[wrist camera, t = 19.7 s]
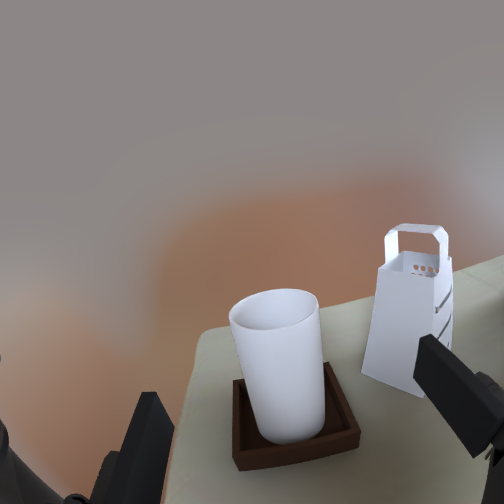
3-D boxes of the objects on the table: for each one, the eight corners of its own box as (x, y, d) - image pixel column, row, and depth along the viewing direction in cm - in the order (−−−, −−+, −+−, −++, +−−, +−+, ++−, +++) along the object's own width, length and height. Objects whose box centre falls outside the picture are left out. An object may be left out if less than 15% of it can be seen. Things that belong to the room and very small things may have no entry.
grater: (396, 337, 40) (397, 217, 35) (450, 354, 32) (465, 221, 27) (360, 372, 35) (358, 235, 30) (422, 398, 26) (444, 244, 21)
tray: (358, 447, 23) (361, 431, 22) (239, 471, 23) (232, 457, 22) (329, 378, 36) (328, 361, 35) (237, 396, 35) (232, 380, 35)
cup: (323, 394, 32) (315, 284, 28) (326, 442, 24) (322, 324, 20) (261, 399, 34) (237, 293, 30) (253, 446, 26) (218, 334, 22)
